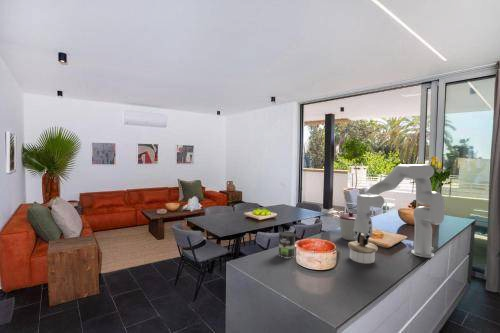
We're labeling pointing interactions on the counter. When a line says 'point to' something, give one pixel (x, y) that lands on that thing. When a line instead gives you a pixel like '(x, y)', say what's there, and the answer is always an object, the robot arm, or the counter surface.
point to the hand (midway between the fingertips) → (362, 243)
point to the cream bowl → (362, 256)
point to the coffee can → (286, 244)
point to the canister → (347, 226)
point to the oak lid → (362, 246)
